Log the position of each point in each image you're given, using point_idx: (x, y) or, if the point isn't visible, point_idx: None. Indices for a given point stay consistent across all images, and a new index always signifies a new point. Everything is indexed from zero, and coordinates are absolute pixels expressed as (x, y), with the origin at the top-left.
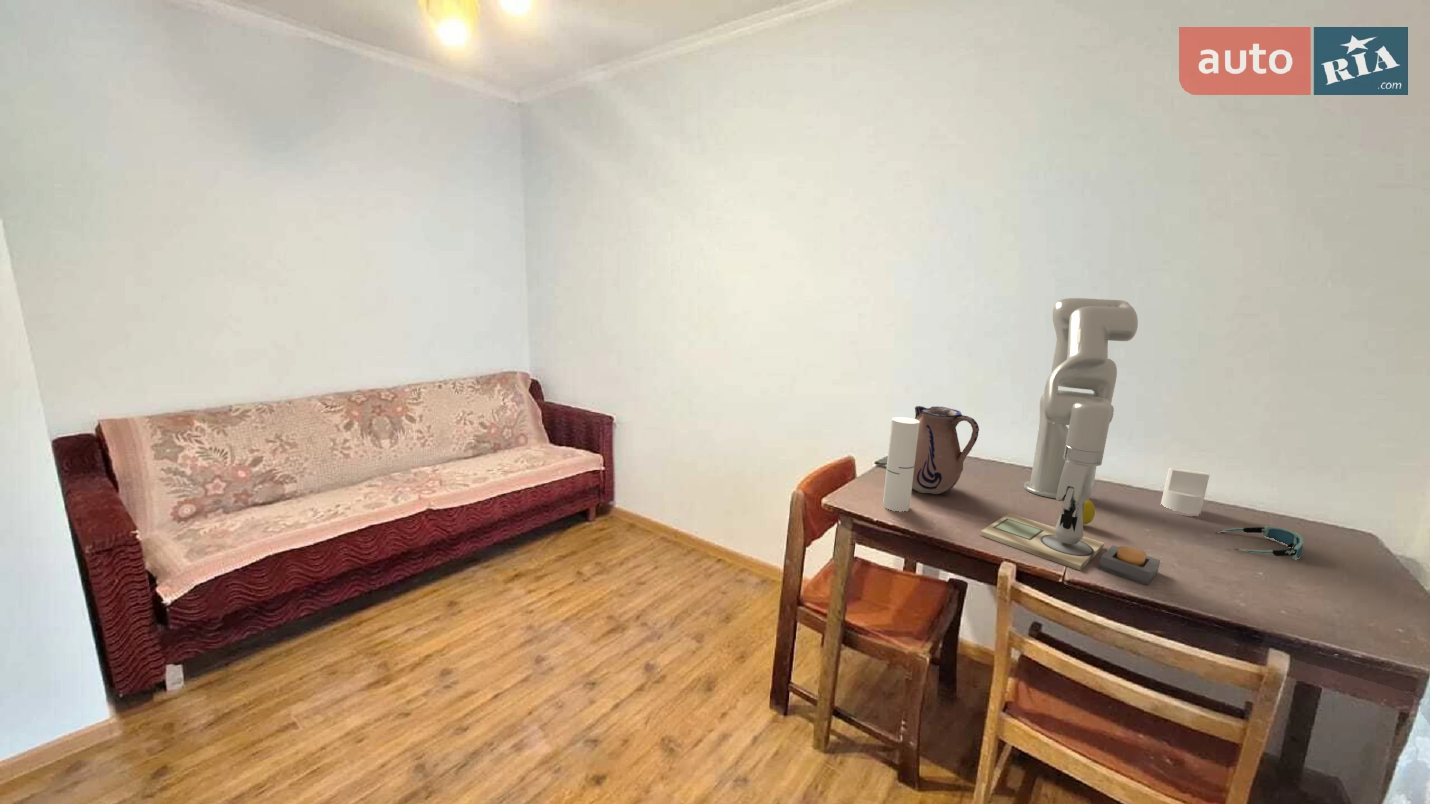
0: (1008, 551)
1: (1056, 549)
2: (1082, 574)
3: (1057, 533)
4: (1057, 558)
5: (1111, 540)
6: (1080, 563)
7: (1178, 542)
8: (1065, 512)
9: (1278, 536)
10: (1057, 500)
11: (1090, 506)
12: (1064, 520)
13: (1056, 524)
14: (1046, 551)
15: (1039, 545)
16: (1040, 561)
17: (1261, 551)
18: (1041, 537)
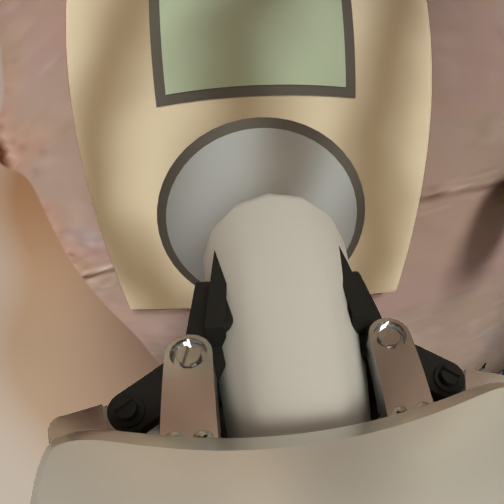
0: (38, 108)
1: (168, 221)
2: (122, 306)
3: (217, 223)
4: (109, 249)
5: (452, 272)
6: (144, 305)
7: (487, 332)
8: (151, 381)
9: None
10: (70, 433)
11: None
12: (192, 316)
13: (265, 212)
14: (112, 207)
15: (140, 160)
16: (72, 208)
17: None
18: (246, 120)
